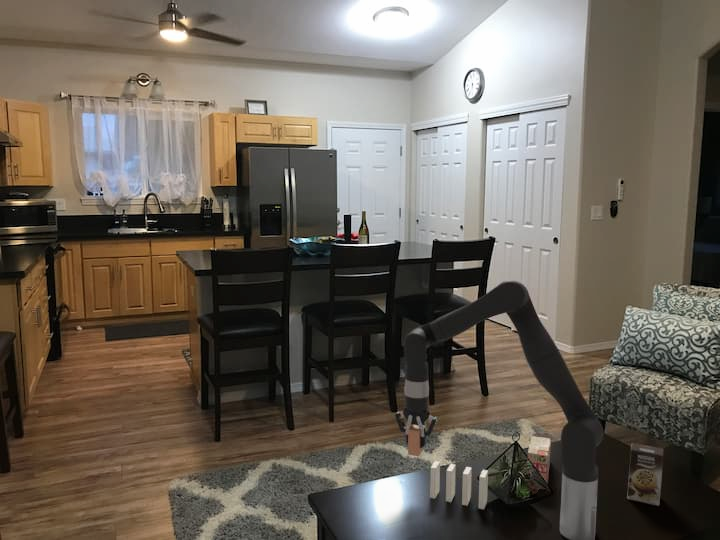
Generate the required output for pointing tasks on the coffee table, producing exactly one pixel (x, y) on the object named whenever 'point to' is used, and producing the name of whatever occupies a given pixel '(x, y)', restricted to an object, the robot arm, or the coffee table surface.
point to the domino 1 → (414, 441)
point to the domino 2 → (435, 479)
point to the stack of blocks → (540, 455)
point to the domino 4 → (466, 486)
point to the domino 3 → (450, 482)
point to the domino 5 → (483, 488)
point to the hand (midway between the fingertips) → (415, 445)
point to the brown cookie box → (645, 474)
